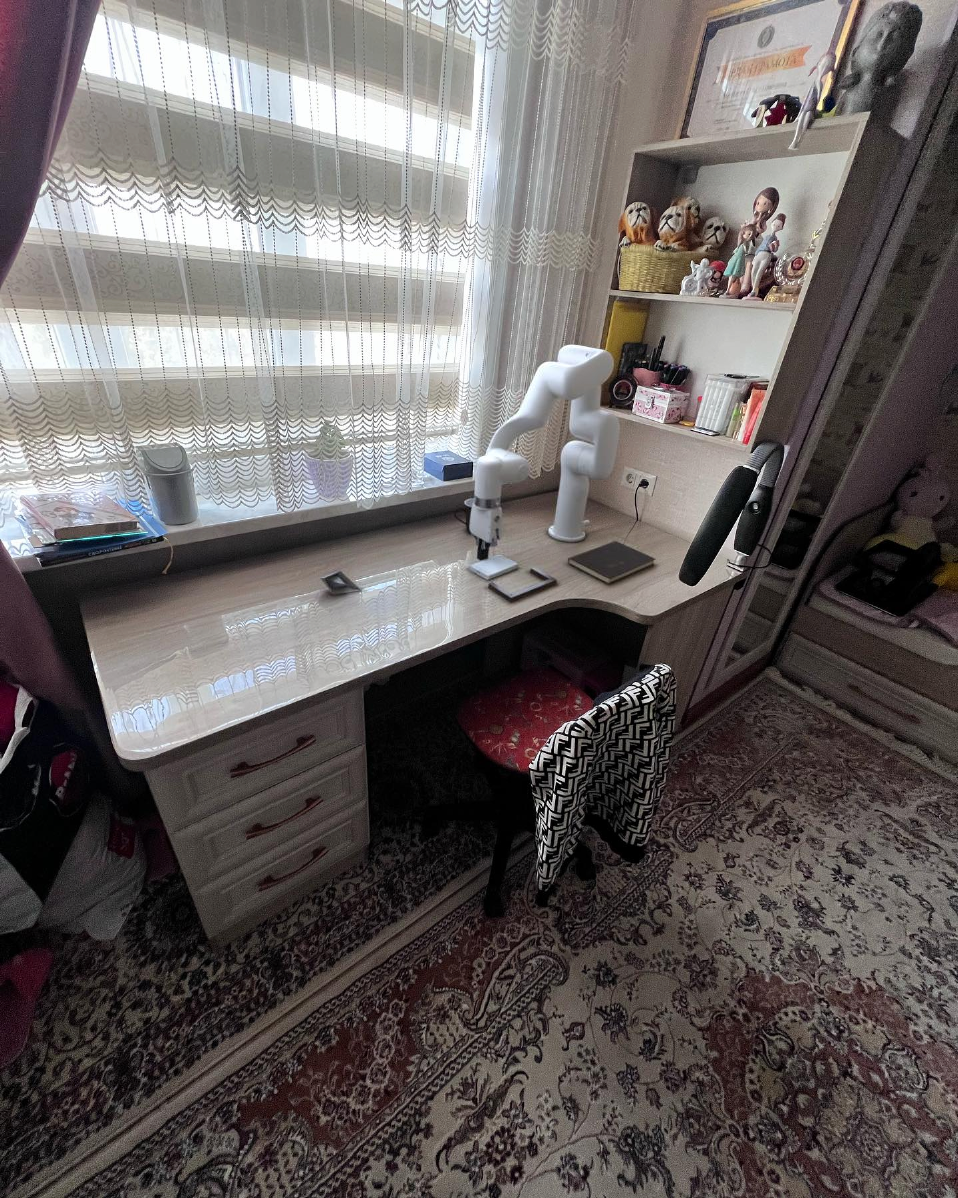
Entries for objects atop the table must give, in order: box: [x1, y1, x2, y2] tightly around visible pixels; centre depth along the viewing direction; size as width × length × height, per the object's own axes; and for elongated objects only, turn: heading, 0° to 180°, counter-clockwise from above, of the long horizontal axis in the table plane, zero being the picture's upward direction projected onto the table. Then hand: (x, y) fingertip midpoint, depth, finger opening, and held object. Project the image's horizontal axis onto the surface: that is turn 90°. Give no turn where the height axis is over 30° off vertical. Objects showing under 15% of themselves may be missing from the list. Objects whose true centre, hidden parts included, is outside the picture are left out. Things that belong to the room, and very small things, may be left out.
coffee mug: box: [453, 497, 474, 535], centre depth 177 cm, size 12×9×10 cm
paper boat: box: [320, 570, 362, 595], centre depth 138 cm, size 12×6×9 cm
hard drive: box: [468, 554, 519, 581], centre depth 156 cm, size 2×8×12 cm
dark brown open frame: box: [487, 566, 558, 603], centre depth 149 cm, size 18×9×2 cm, turn 130°
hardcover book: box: [567, 540, 656, 585], centre depth 164 cm, size 16×23×2 cm
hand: (482, 558), depth 159 cm, fingers closed
